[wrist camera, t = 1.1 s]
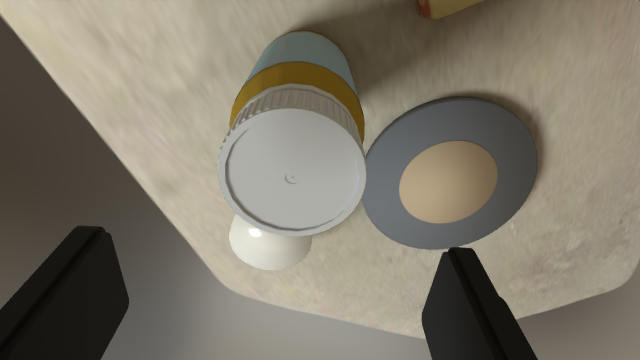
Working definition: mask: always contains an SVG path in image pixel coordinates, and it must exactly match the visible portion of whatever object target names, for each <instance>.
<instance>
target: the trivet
mask: <svg viewBox="0 0 640 360" xmlns="http://www.w3.org/2000/svg"><path fill="white" fill-rule="evenodd" d="M537 161H538V160H537V151H536V147H535V143H534V141H533V138H532V136H531V134H530V132H529V131H528V130H527V128H526V127H525V125H524V124H523V123H522V122H521V121H520V120H519V119H518V118H517V117H515V116H514V115H513V114H511V113H510V112H509V111H507V110H506V109H504V108H503V107H501V106H499V105H497V104H495V103H493V102H490V101H486V100H483V99H479V98H472V97H451V98H443V99H439V100H435V101H431V102H428V103H425V104H422V105H420V106H417V107H415V108H413V109H411V110H409V111H407V112H406V113H404V114H403V115H401V116H400V117H398V118H397V119H396V120H394V121H393V122H392V123H391V124H390V125H388V126H387V127H386V128H385V129H384V130H383V131H382V132H381V134H380V135H379V136H378V137H377V139H376V140H375V141H374V143H373V144H372V146H371V147H370V149H369V151H368V153H367V155H366V164H367V168H366V169H367V175H366V178H367V180H366V183H365V188H364V192H363V194H362V200H363V204H364V208H365V210H366V213H367V215H368V217H369V218H370V220H371V221H372V223H373V224H374V225H375V226H376V228H377V229H378V230H380V231H381V232H382V233H383V234H384V235H386V236H387V237H389V238H390V239H392V240H394V241H396V242H398V243H400V244H403V245H406V246H409V247H414V248H419V249H436V250H438V249H448V248H451V247H458V246H462V245H465V244H469V243H471V242H474V241H476V240H479V239H481V238H483V237H485V236H487V235H489V234H490V233H492V232H494V231H495V230H497V229H498V228H499V227H501V226H502V225H503V224H505V223H506V222H507V221H508V220H509V219H510V218H511V217H512V216H513V215H514V214H515V213H516V212H517V211H518V210H519V209H520V207H521V206H522V204H523V203H524V202H525V200H526V199H527V197H528V195H529V193H530V191H531V189H532V186H533V184H534V181H535V177H536V172H537Z"/></svg>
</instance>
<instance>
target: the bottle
mask: <svg viewBox="0 0 640 360" xmlns="http://www.w3.org/2000/svg"><path fill="white" fill-rule="evenodd" d="M363 141H364V116H363V111H362V108H361V105H360V101H359V98H358V95H357V92H356V88H355V85H354V82H353V78H352V75H351V72H350V69H349V66H348V63H347V60H346V58H345V56H344V54H343V53H342V52H341V50H340V49H339V48H338V46H337V45H336V44H335V43H334V42H332V41H331V40H329V39H328V38H327V37H325V36H323V35H321V34H318V33H314V32H311V31H293V32H290V33H287V34H285V35H282V36H280V37H278V38H277V39H275V40H274V41H273V42H272V43H271V44H270V45H269V46H268V47H267V48H266V49H265V50H264V52H263V53H262V55H261V57H260V58H259V60H258V62H257V64H256V65H255V67H254V69H253V70H252V72H251V74H250V75H249V77H248V79H247V80H246V82H245V84H244V85H243V87H242V89H241V91H240V92H239V94H238V96H237V98H236V100H235V102H234V104H233V107H232V111H231V118H230V130H229V132H228V133H227V135H226V137H225V139H224V141H223V143H222V146H221V148H220V151H219V152H220V154H219V156H218V163H217V167H218V168H217V173H218V181H219V185H220V188H221V191H222V194H223V196H224V198H225V199H226V201H227V203H228V204H229V205H230V207H231V208H232V209H233V210H234V211H235V213H236V214H237V215H239V216H240V217H241V218H242V219H243V220H245V221H246V222H248V223H249V224H251V225H252V226H254V227H256V228H258V229H260V230H263V231H266V232H269V233H272V234H276V235H281V236H307V235H313V234H317V233H320V232H323V231H326V230H328V229H330V228H332V227H334V226H336V225H337V224H339V223H340V222H342V221H343V220H344V219H345V218H346V217H348V216H349V215H350V214H351V212H352V211H353V210H354V209H355V207H356V206H357V204H358V203H359V201H360V199H361V197H362V194H363V192H364V188H365V183H366V180H367V178H366V175H367V169H366V168H367V164H366V158H365V154H364V150H363V146H362V144H363Z"/></svg>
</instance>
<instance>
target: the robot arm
mask: <svg viewBox="0 0 640 360" xmlns="http://www.w3.org/2000/svg"><path fill="white" fill-rule="evenodd" d="M128 305H129V297H128V294H127V290H126V287H125V284H124V280H123V276H122V272H121V269H120V266H119V262H118V258H117V255H116V251H115V248H114V244H113V241H112V237H111V235H110V234H109V233H107V232H105V229H104V228H102V227H97V226H77V227H76V228H74V229H73V230H72V232H71V233H70V234H69V235H68V236H67V237H66V238H65V239H64V240H63V241H62V242H61V244H60V245H59V246H58V247H57V248H56V249H55V250H54V251H53V253H51V255H50V256H49V257H48V258H47V259H46V260H45V261H44V262H43V263H42V264H41V266H40V267H39V268H38V269H37V270H36V271H35V272H34V273H33V274H32V275H31V277H30V278H29V279H28V280H27V281H26V282H25V283H24V284H23V285H22V287H21V288H20V289H19V290H18V291H17V292H16V293H15V294H14V295H13V297H11V299H10V300H9V301H8V302H7V303H6V304H5V305H4V306H3V307H2V308H1V310H0V360H100V359H101V358H102V356H103V354H104V352H105V350H106V348H107V347H108V345H109V343H110V341H111V339H112V337H113V336H114V334H115V332H116V330H117V328H118V326H119V325H120V323H121V321H122V319H123V317H124V315H125V314H126V311H127V309H128ZM422 326H423V329H424V333H425V336H426V340H427V343H428V346H429V350H430V353H431V357H432V360H538V359H537V358H536V356H535V354H534V352H533V350H532V348H531V346H530V345H529V343H528V341H527V339H526V338H525V336H524V334H523V332H522V330H521V329H520V327H519V325H518V323H517V321H516V319H515V318H514V316H513V314H512V312H511V310H510V309H509V307H508V305H507V303H506V302H505V301H504V299H502V298H501V297H499V295H498V293H497V292H496V290H495V288H494V286H493V284H492V282H491V281H490V279H489V277H488V275H487V273H486V271H485V269H484V268H483V266H482V264H481V262H480V260H479V258H478V257H477V255H476V253H475V251H474V250H473V249H472V248H460V247H451V248H450V249H449V250H448V252H443V254H442V256H441V259H440V262H439V265H438V268H437V271H436V274H435V277H434V280H433V283H432V286H431V288H430V291H429V294H428V297H427V300H426V303H425V306H424V309H423V312H422Z"/></svg>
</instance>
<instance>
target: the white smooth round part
mask: <svg viewBox="0 0 640 360" xmlns="http://www.w3.org/2000/svg"><path fill="white" fill-rule="evenodd" d="M229 239H230V244H231V247H232V249H233V251H234V252H235V253H236V255H237V256H238V257H239V258H240V259H241V260H243V261H244V262H246V263H247V264H249V265H251V266H254V267H256V268H260V269H264V270H282V269H286V268H290V267H292V266H294V265H296V264H298V263H299V262H301V261H302V260H303V259H304V258H305V257H306V256H307V254H308V252H309V251H310V248H311V243H312V235H307V236H281V235H276V234H272V233H269V232H266V231H263V230H260V229H258V228H256V227H254V226H252V225H251V224H249V223H248V222H246V221H245V220H243V219H242V218H241V217H240V216H239V215H237V214H235V217H234V220H233V223H232V226H231V229H230V234H229Z"/></svg>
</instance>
